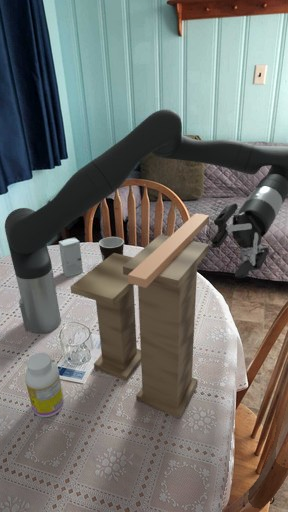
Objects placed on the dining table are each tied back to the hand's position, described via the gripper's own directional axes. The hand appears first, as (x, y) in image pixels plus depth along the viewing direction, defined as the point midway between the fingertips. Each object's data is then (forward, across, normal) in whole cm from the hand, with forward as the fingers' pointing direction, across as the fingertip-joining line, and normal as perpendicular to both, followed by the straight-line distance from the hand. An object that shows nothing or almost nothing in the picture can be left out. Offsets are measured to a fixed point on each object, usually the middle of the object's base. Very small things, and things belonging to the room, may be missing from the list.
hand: (227, 261), depth 71 cm
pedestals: (+22, -12, -22) cm, 33 cm away
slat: (+8, +11, 0) cm, 13 cm away
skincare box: (0, +5, -68) cm, 68 cm away
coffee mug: (-11, -3, -63) cm, 64 cm away
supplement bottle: (+39, -1, -28) cm, 48 cm away
